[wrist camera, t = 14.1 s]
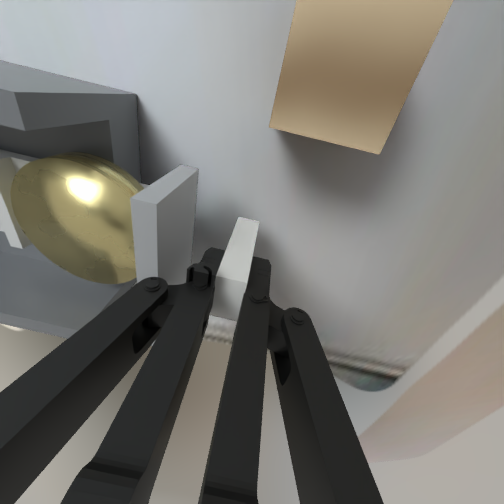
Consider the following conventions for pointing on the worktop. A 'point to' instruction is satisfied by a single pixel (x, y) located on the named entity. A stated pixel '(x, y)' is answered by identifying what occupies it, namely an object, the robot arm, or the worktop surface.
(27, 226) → the disc
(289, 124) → the pedestal
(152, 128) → the worktop surface
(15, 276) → the box
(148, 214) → the grey i-beam
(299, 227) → the worktop surface
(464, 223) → the worktop surface
